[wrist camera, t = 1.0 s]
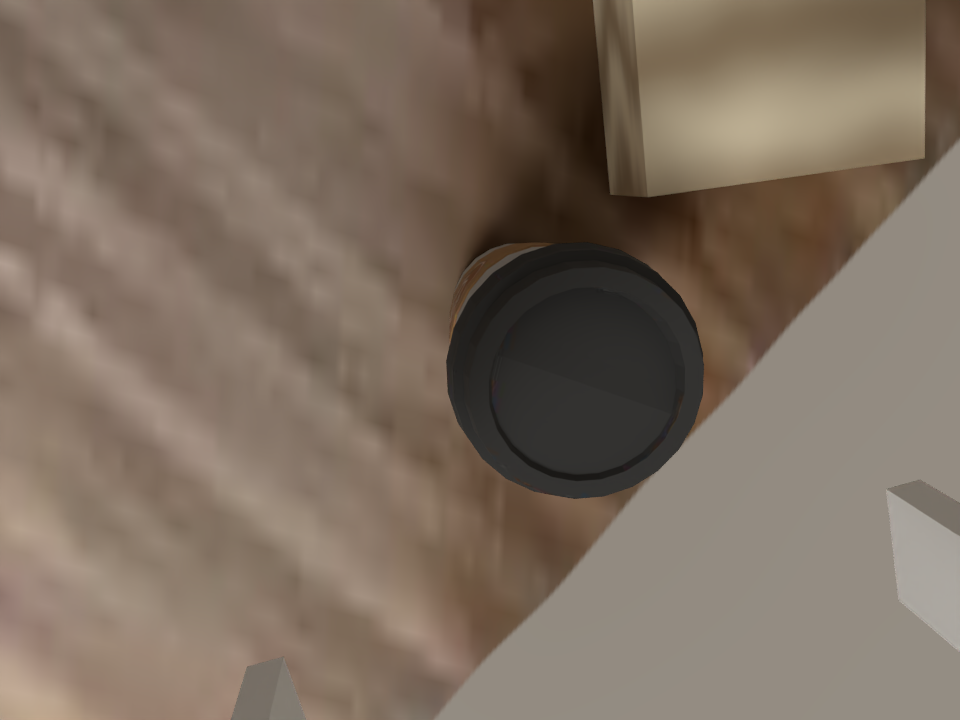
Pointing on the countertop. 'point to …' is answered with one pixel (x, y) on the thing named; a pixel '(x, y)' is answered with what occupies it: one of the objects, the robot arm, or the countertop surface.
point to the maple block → (757, 89)
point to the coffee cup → (572, 366)
